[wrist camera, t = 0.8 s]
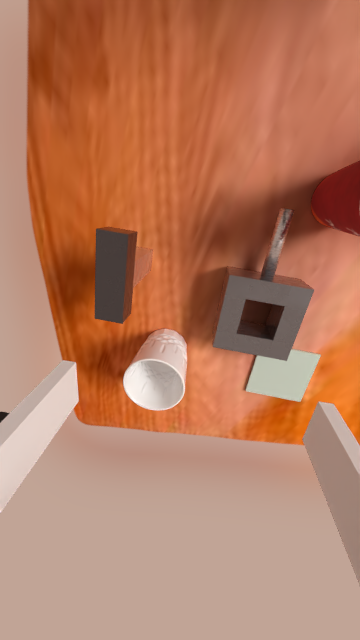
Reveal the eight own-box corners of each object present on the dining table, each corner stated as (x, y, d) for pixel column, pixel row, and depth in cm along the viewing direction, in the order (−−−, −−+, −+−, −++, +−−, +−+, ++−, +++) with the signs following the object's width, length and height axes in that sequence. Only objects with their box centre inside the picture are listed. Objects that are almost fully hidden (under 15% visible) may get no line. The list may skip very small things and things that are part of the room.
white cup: (168, 315, 39) (155, 347, 30) (200, 351, 41) (197, 392, 31) (132, 342, 41) (110, 379, 32) (164, 375, 43) (151, 419, 34)
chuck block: (242, 202, 32) (247, 201, 27) (323, 216, 31) (342, 217, 27) (212, 330, 39) (212, 346, 34) (277, 343, 38) (286, 361, 34)
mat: (260, 342, 39) (261, 344, 38) (319, 354, 38) (320, 355, 38) (245, 389, 42) (245, 391, 42) (299, 400, 42) (300, 401, 42)
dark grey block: (133, 222, 34) (96, 228, 23) (155, 226, 34) (128, 234, 23) (128, 287, 38) (94, 318, 27) (148, 290, 37) (122, 323, 27)
